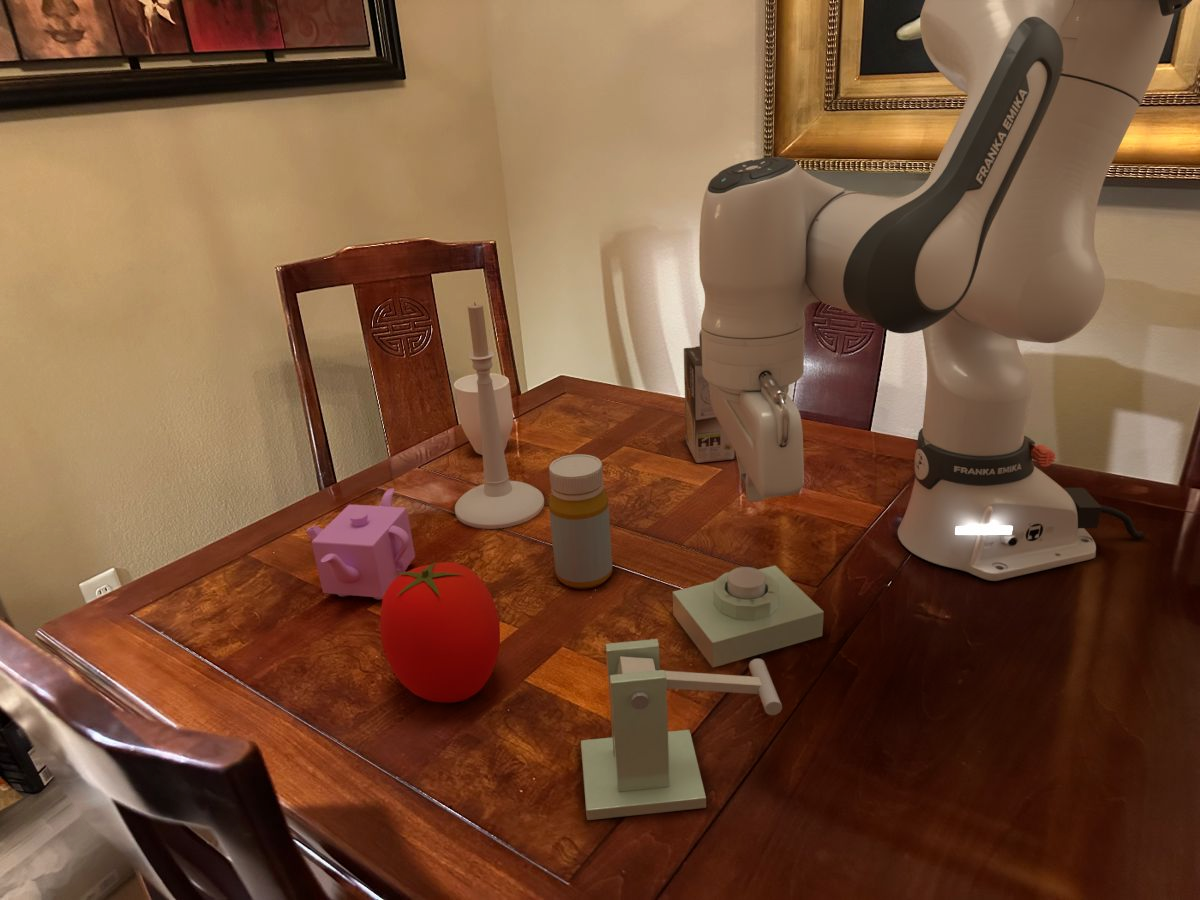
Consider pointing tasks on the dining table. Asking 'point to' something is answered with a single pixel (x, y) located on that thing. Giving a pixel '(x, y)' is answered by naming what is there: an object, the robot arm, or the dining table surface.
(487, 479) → the candlestick
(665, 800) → the lever bracket
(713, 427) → the coffee box
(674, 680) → the flush lever
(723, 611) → the push button base
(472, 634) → the tomato
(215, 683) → the dining table surface
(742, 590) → the white push button
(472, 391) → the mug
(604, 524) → the bottle
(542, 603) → the dining table surface
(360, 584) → the teapot
